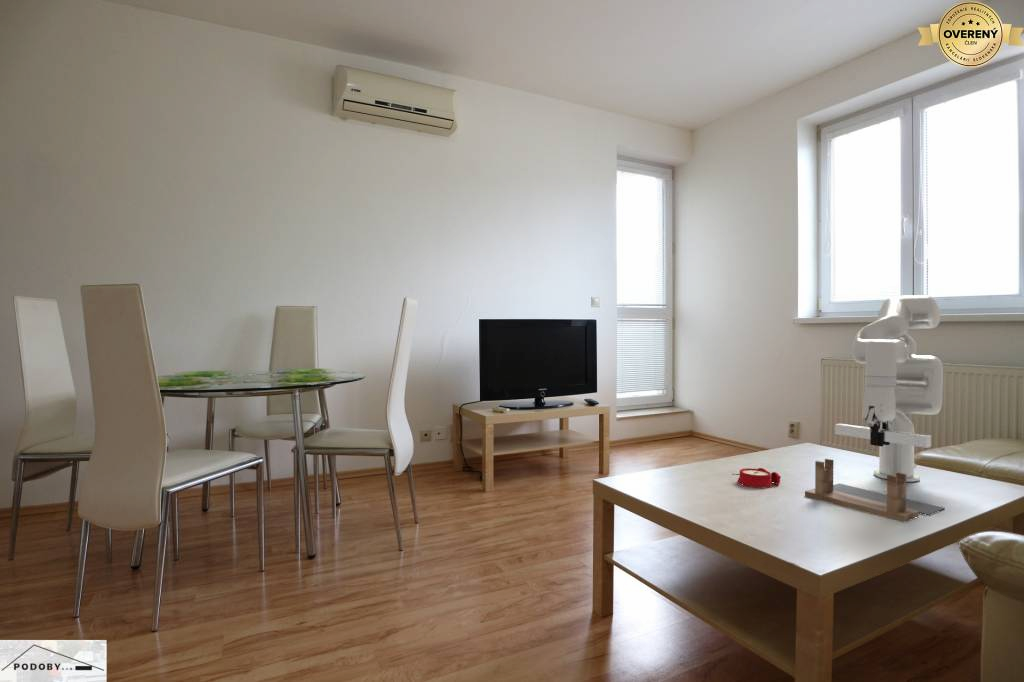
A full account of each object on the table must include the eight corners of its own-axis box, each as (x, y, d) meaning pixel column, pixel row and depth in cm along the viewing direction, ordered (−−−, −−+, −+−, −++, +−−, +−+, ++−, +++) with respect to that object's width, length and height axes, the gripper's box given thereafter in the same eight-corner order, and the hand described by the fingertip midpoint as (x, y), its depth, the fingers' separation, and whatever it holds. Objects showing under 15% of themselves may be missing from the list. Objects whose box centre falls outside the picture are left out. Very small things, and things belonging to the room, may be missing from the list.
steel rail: (840, 433, 168) (840, 423, 168) (931, 446, 147) (931, 435, 147) (835, 433, 166) (835, 424, 166) (926, 447, 146) (926, 436, 146)
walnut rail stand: (819, 492, 164) (820, 456, 164) (918, 516, 142) (919, 475, 142) (804, 496, 160) (805, 459, 160) (904, 522, 138) (904, 480, 138)
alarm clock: (727, 471, 176) (762, 457, 181) (731, 489, 177) (765, 474, 182) (751, 478, 166) (787, 464, 171) (755, 498, 167) (791, 482, 172)
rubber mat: (839, 485, 172) (839, 483, 172) (944, 509, 148) (944, 507, 148) (822, 489, 167) (822, 488, 167) (928, 515, 143) (928, 514, 143)
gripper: (880, 380, 164) (879, 440, 164) (852, 382, 156) (851, 445, 156) (908, 382, 158) (907, 444, 158) (880, 384, 149) (880, 450, 149)
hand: (880, 444), depth 157 cm, fingers closed on steel rail, 3 cm apart
